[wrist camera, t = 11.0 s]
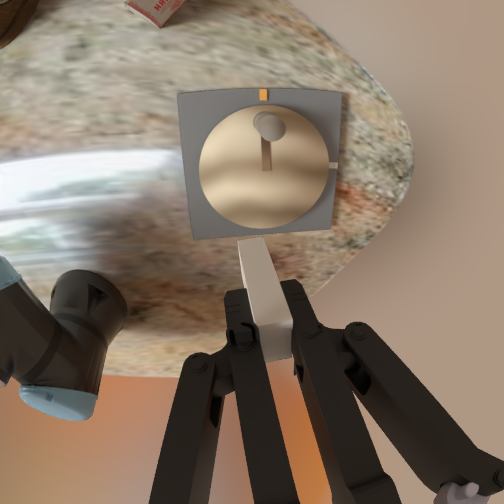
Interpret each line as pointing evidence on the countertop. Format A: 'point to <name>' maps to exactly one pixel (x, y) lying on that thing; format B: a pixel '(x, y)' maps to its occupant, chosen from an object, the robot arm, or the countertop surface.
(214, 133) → the dial
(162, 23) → the tea bag
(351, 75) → the countertop surface
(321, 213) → the dial base
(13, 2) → the wooden container
